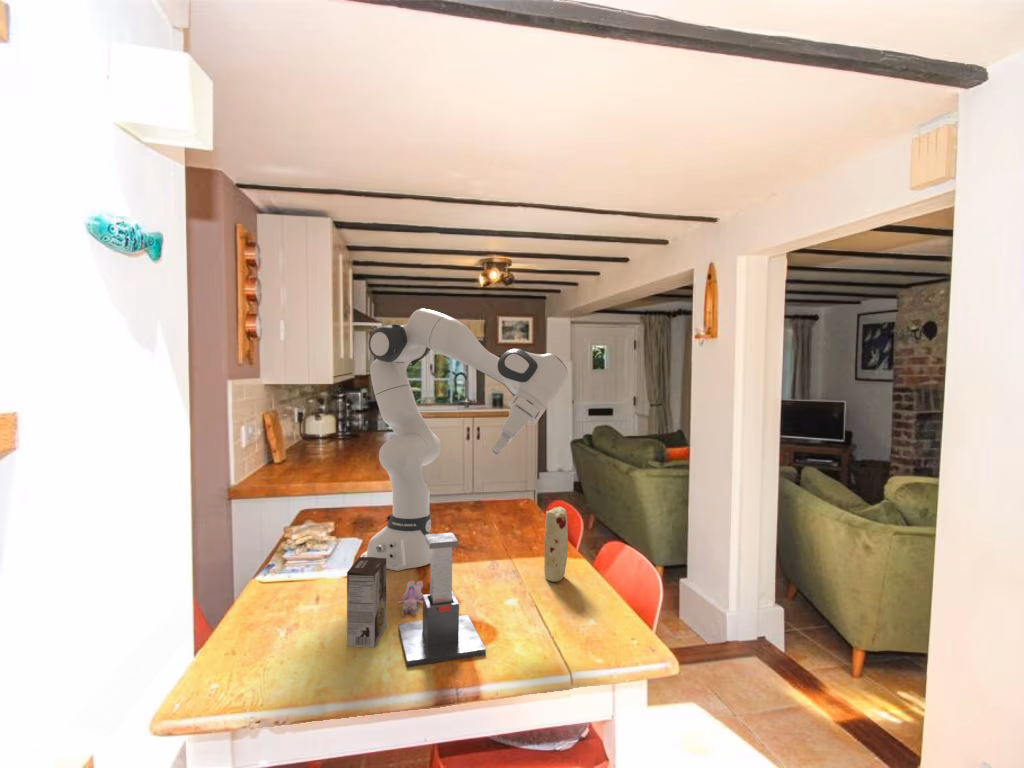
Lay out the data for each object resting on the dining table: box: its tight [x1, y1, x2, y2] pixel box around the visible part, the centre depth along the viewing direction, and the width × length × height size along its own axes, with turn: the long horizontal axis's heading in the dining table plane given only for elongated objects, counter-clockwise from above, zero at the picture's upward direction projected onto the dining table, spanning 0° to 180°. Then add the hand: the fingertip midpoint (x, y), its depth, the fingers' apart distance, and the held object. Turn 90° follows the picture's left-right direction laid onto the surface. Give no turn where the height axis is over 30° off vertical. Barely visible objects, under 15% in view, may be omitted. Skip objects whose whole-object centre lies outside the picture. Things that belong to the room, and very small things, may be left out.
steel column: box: [425, 532, 459, 606], centre depth 115 cm, size 6×6×21 cm
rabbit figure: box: [397, 580, 424, 618], centre depth 133 cm, size 6×6×15 cm
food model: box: [543, 506, 569, 583], centre depth 151 cm, size 10×7×20 cm
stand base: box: [397, 590, 487, 668], centre depth 115 cm, size 16×16×9 cm
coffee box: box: [346, 556, 387, 649], centre depth 116 cm, size 9×6×16 cm
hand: (494, 452), depth 137 cm, fingers open, 8 cm apart
